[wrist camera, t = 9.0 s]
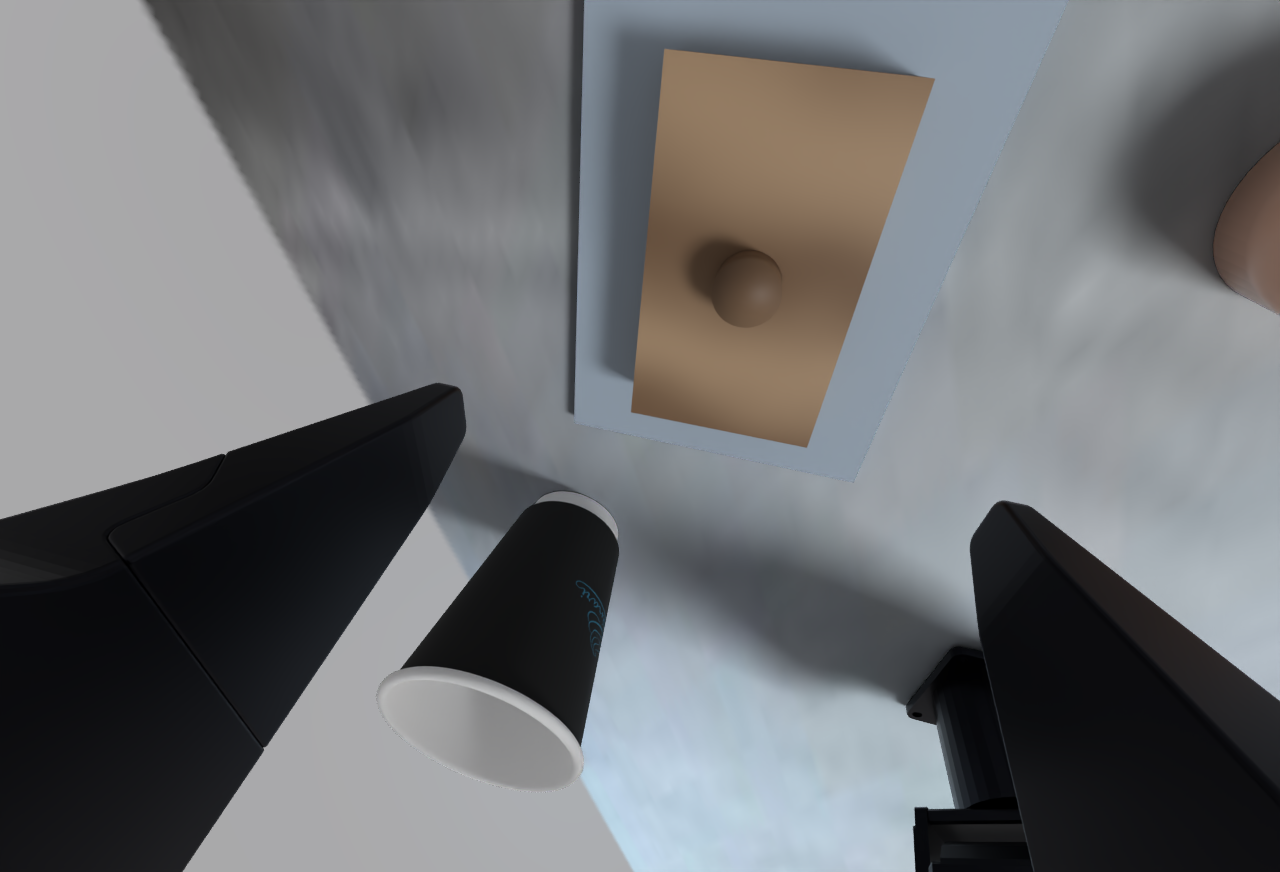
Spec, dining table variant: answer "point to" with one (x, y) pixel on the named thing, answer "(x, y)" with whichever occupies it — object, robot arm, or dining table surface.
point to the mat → (915, 226)
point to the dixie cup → (515, 653)
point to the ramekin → (1253, 235)
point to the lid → (763, 234)
